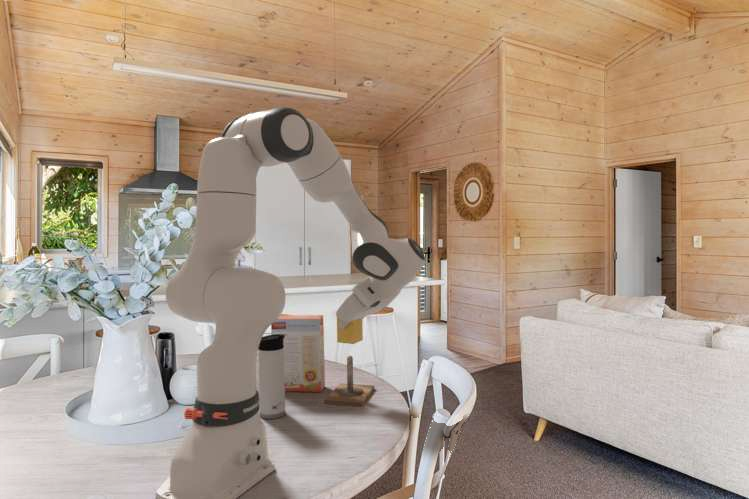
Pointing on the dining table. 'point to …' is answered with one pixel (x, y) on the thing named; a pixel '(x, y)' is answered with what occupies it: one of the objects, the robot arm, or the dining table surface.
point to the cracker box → (302, 351)
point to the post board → (349, 399)
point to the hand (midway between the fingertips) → (347, 324)
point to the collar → (350, 332)
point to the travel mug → (271, 376)
